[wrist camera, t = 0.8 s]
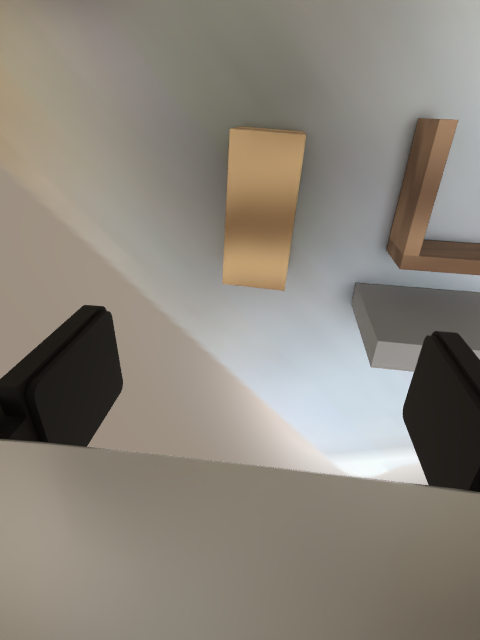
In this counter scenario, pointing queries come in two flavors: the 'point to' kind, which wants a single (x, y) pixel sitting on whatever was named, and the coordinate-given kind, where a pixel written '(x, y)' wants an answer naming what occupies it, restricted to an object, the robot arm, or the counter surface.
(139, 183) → the counter surface
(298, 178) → the oak bar
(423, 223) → the cradle
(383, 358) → the wall
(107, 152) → the counter surface
